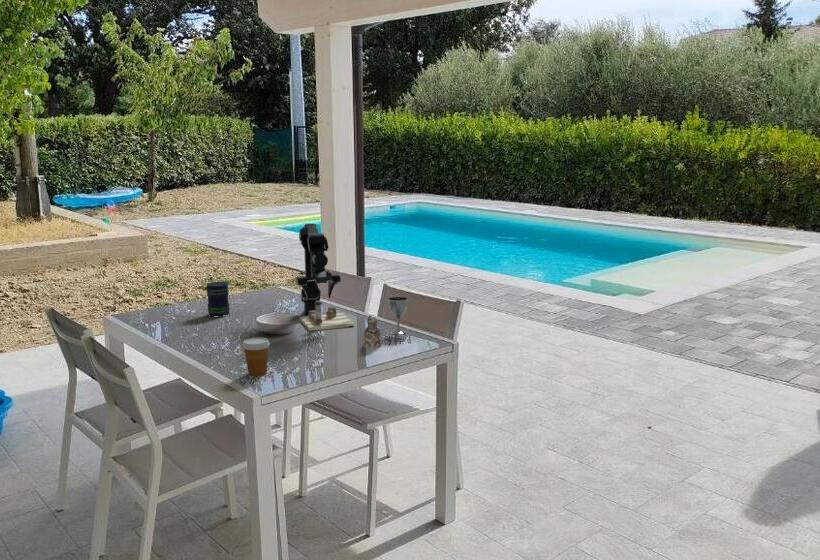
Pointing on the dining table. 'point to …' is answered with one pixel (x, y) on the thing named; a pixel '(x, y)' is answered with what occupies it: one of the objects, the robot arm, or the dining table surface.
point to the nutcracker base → (328, 321)
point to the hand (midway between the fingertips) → (318, 298)
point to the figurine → (372, 334)
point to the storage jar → (218, 298)
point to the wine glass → (398, 310)
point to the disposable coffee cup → (256, 355)
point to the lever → (316, 313)
